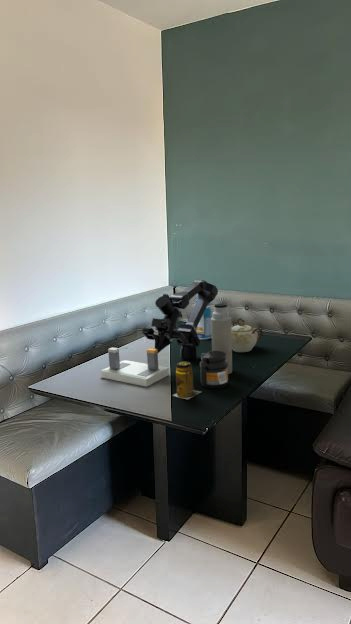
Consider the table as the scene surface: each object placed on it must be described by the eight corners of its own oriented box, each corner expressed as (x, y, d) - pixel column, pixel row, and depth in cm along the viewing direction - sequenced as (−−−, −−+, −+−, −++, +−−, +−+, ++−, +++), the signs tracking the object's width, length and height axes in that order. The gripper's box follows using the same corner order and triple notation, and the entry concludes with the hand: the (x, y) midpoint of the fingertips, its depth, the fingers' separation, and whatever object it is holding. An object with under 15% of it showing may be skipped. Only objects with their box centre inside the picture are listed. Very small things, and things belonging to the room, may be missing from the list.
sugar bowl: (216, 352, 227) (215, 320, 224) (227, 343, 240) (226, 313, 237) (257, 356, 219) (257, 323, 216) (267, 347, 232) (266, 316, 229)
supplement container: (227, 389, 182) (226, 358, 179) (198, 389, 184) (197, 358, 181) (229, 379, 192) (228, 350, 190) (202, 379, 194) (201, 350, 191)
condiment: (171, 395, 179) (170, 364, 176) (186, 388, 185) (185, 358, 183) (187, 400, 174) (186, 367, 172) (202, 392, 181) (200, 361, 178)
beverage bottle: (212, 339, 249) (211, 300, 245) (196, 340, 249) (194, 301, 245) (211, 335, 258) (210, 297, 253) (195, 335, 258) (194, 298, 253)
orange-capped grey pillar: (151, 367, 200) (150, 348, 199) (158, 368, 198) (157, 349, 197) (147, 368, 198) (146, 349, 197) (155, 370, 196) (153, 350, 195)
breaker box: (125, 366, 214) (124, 359, 213) (168, 374, 201) (168, 367, 200) (101, 377, 202) (100, 369, 201) (146, 386, 189) (146, 378, 188)
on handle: (113, 366, 204) (112, 347, 202) (120, 367, 202) (118, 348, 200) (109, 368, 202) (108, 348, 200) (116, 369, 200) (114, 350, 198)
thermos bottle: (215, 367, 207) (213, 302, 201) (234, 368, 204) (232, 302, 198) (210, 374, 199) (208, 306, 193) (229, 375, 197) (228, 306, 191)
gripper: (142, 308, 205) (127, 340, 198) (180, 312, 195) (165, 346, 188) (155, 322, 213) (140, 354, 206) (191, 327, 203) (178, 360, 196)
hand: (155, 353), depth 199 cm, fingers closed
